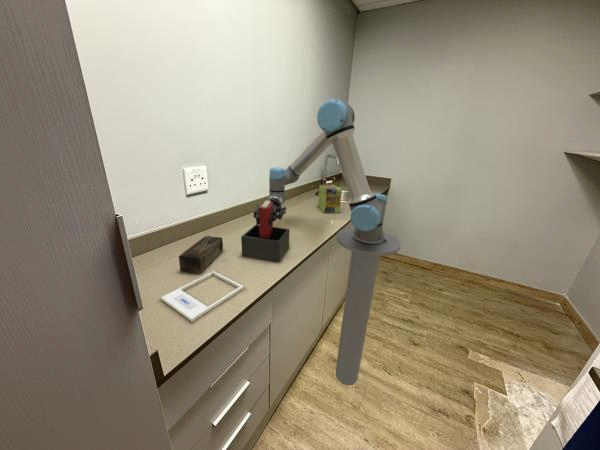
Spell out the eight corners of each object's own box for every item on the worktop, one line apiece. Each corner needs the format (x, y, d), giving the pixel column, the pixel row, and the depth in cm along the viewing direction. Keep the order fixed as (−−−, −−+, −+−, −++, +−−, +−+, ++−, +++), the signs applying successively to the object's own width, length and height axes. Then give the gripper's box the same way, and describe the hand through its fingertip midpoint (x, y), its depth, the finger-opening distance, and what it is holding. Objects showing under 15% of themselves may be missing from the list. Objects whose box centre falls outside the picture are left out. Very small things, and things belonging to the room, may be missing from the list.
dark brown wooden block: (224, 250, 101) (223, 235, 98) (201, 275, 83) (199, 258, 81) (206, 248, 102) (204, 233, 99) (179, 272, 84) (176, 255, 81)
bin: (288, 247, 106) (289, 229, 103) (279, 262, 93) (279, 241, 90) (255, 242, 109) (255, 224, 106) (242, 256, 96) (241, 236, 93)
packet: (272, 230, 102) (273, 200, 97) (269, 238, 94) (269, 206, 90) (263, 230, 102) (263, 200, 98) (259, 238, 94) (258, 206, 90)
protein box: (324, 213, 154) (326, 189, 149) (317, 206, 168) (319, 184, 163) (339, 212, 156) (342, 189, 151) (332, 206, 171) (334, 184, 165)
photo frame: (161, 296, 70) (213, 270, 84) (161, 299, 70) (213, 273, 84) (191, 318, 62) (243, 285, 76) (191, 321, 62) (243, 288, 77)
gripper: (291, 213, 113) (285, 232, 92) (255, 211, 114) (241, 229, 92) (292, 198, 111) (286, 214, 89) (255, 196, 111) (240, 211, 90)
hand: (263, 222), depth 91 cm, fingers closed on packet, 4 cm apart
